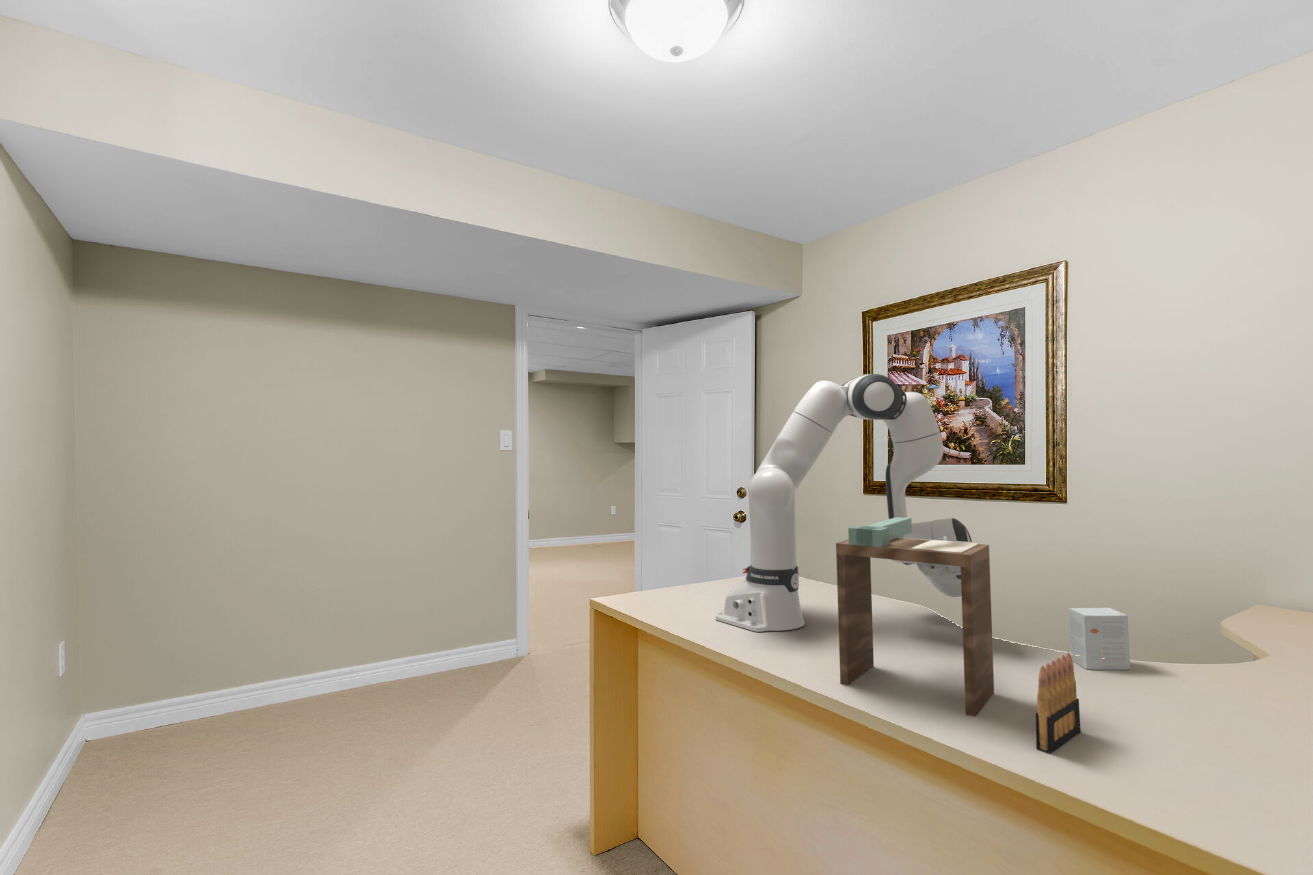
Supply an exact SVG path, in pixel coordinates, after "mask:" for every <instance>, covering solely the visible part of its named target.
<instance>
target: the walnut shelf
mask: <svg viewBox="0 0 1313 875" xmlns="http://www.w3.org/2000/svg"><path fill="white" fill-rule="evenodd" d="M835 549H836V550H835V552H836V553H835V554H836V558H835V559H836V580H837V581H836V585H837V615H838V616H837V617H838V618H837V619H838V620H837V621H838V648H839V650H838V654H839V678H840V679H839V681H840V682H839V683H840V684H841V685H845V686H849V685H851V684H852V683H854V682H855V681H857V679H859V678H861V677H862V676H863V675H865V674H866V673H868V672H869V671H870V670H872V669H873V668H875V666H874V664H875V663H874V658H875V657H874V637H873V636H874V630H873V604H872V602H873V601H872V600H873V599H872V573H871V572H872V571H871V570H872V569H871V558H873V559H883V560H892V561H893V560H901V561H911V562H921V563H931V564H941V565H951V566H961V593H962V596H961V613H962V614H961V616H962V618H961V619H962V645H963V646H962V647H963V670H964V671H963V673H964V706H965V707H964V708H965V715H966V716H970V717H975V718H976V717H977V716H978V715H979V713H980V712H981V711H982V710H983V708H984V707H985V706H986V704H987V703H988V702H989V701H990V699H991V698H992V696H994V694H995V683H994V682H995V679H994V654H993V653H994V652H993V646H994V645H993V624H992V623H993V619H992V616H993V615H992V594H991V591H992V590H991V563H990V561H991V560H990V559H991V558H990V544H981V543H977V542H973V543H967V542H953V541H940V540H919V539H906V538H896V539H893V540H890V544H889V545H886V546H883V547H873V546H862V545H850V544H849V538H848V539H845V540H842V541H839V542H836V543H835Z"/></svg>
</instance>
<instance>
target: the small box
mask: <svg viewBox="0 0 1313 875" xmlns="http://www.w3.org/2000/svg"><path fill="white" fill-rule="evenodd" d="M1068 618H1069V619H1068V621H1069V641H1070V642H1069V644H1070V646H1069V648H1070V655H1071V654H1073V655H1071V657H1072V661H1073V663H1076V664H1078V665H1079V666H1080V667H1082V668H1084V669H1086V670H1097V671H1098V670H1099V671H1102V670H1105V671H1107V670H1108V671H1109V670H1111V671H1113V670H1116V671H1117V670H1120V671H1121V670H1123V671H1126V670H1128V671H1129V670H1130V669H1131V659H1130V658H1131V656H1130V637H1129V634H1130V633H1129V632H1130V631H1129V615H1127V614H1126V613H1123V612H1121V611H1118V610H1116V609H1114V608H1112V607H1071V608H1070V607H1069V608H1068ZM1075 655H1080V656H1075ZM1102 658H1105V659H1102Z"/></svg>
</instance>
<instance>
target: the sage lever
mask: <svg viewBox="0 0 1313 875" xmlns="http://www.w3.org/2000/svg"><path fill="white" fill-rule="evenodd" d="M847 531H848V539H849V544H850V545H862V546H873V547H883V546H886V545H889V544H890V540H893V539H896V538H899V537H901V536H904V535H907V534H910V533H912V517H907V518H901V517H896V518H892V519H889V518H888V519H885V520H882V521H879V522H875V523H871V524H868V525H855V526H850V527H848V530H847Z"/></svg>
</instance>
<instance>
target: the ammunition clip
mask: <svg viewBox="0 0 1313 875" xmlns="http://www.w3.org/2000/svg"><path fill="white" fill-rule="evenodd" d="M1037 688H1038V691H1037V697H1036V698H1037V701H1036V702H1037V711H1036V713H1035V738H1036V739H1035V742H1036V743H1035V744H1036V746H1035V747H1036V750H1038V751H1042V752H1044V753H1048V754H1053V753H1054V752H1055V751H1057V750H1059V749H1060V748H1062V746H1064V745H1065V744H1067V743H1068V742H1070V741H1071V740H1073V739H1074V738H1075V737H1077V736H1078V735H1079V734H1080V733H1082V732H1081V714H1080V699H1079V698H1077V696H1078V695H1077V681H1076V677H1075V670H1074V661H1072V657H1071V652H1067V653H1066V655H1064V654H1063V655H1061V657H1057V658H1056V660H1055V659H1054V660H1053V659H1052V661H1051V662H1050V663H1049V662H1047V663H1046V665H1045V666H1044V665H1041V666H1040V669H1039V674H1038V686H1037Z"/></svg>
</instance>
